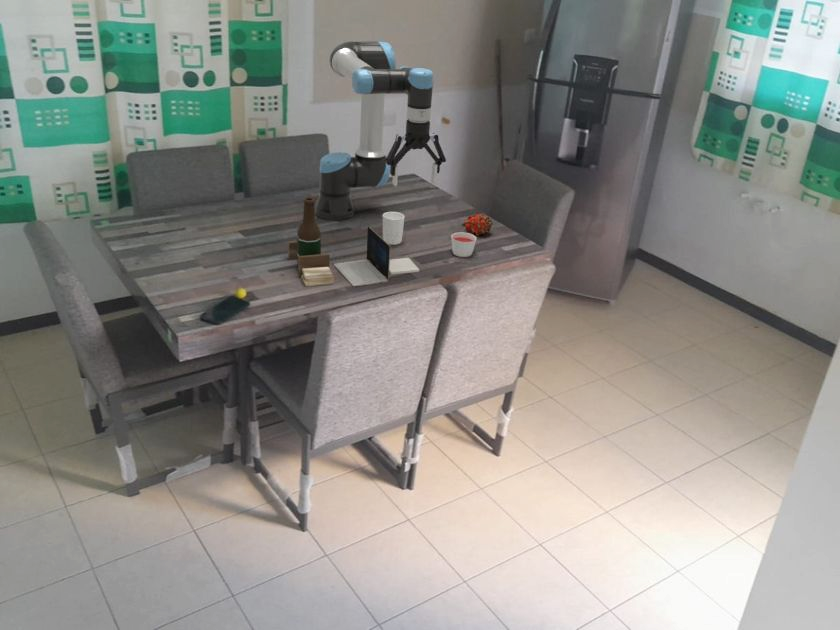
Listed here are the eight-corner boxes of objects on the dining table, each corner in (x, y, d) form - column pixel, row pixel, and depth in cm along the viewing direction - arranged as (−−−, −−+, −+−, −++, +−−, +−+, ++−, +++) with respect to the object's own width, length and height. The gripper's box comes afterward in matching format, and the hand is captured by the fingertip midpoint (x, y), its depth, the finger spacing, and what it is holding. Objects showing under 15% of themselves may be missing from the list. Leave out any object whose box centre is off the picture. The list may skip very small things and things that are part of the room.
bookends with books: (288, 258, 269) (288, 239, 266) (316, 255, 272) (316, 236, 269) (304, 286, 251) (304, 266, 247) (335, 283, 254) (335, 263, 251)
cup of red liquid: (477, 258, 280) (479, 242, 277) (452, 258, 278) (454, 242, 275) (471, 248, 287) (473, 232, 284) (447, 248, 286) (449, 232, 283)
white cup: (400, 246, 284) (401, 220, 280) (379, 243, 285) (380, 217, 281) (405, 238, 291) (406, 213, 286) (384, 235, 292) (385, 210, 288)
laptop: (333, 265, 267) (333, 229, 261) (367, 261, 272) (368, 225, 266) (353, 288, 253) (354, 250, 247) (389, 282, 258) (390, 245, 252)
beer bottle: (311, 260, 269) (311, 193, 257) (325, 268, 264) (326, 200, 253) (292, 265, 264) (291, 197, 252) (306, 274, 259) (306, 204, 248)
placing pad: (381, 262, 271) (381, 260, 271) (408, 259, 274) (408, 257, 274) (391, 274, 263) (391, 272, 262) (419, 271, 266) (419, 269, 266)
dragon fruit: (493, 238, 301) (462, 242, 300) (489, 219, 305) (458, 223, 304) (495, 226, 294) (464, 230, 293) (491, 207, 297) (460, 211, 296)
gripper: (384, 124, 243) (381, 189, 253) (459, 121, 251) (453, 185, 261) (377, 117, 249) (374, 181, 259) (450, 115, 257) (445, 177, 267)
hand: (414, 183), depth 260 cm, fingers open, 13 cm apart
